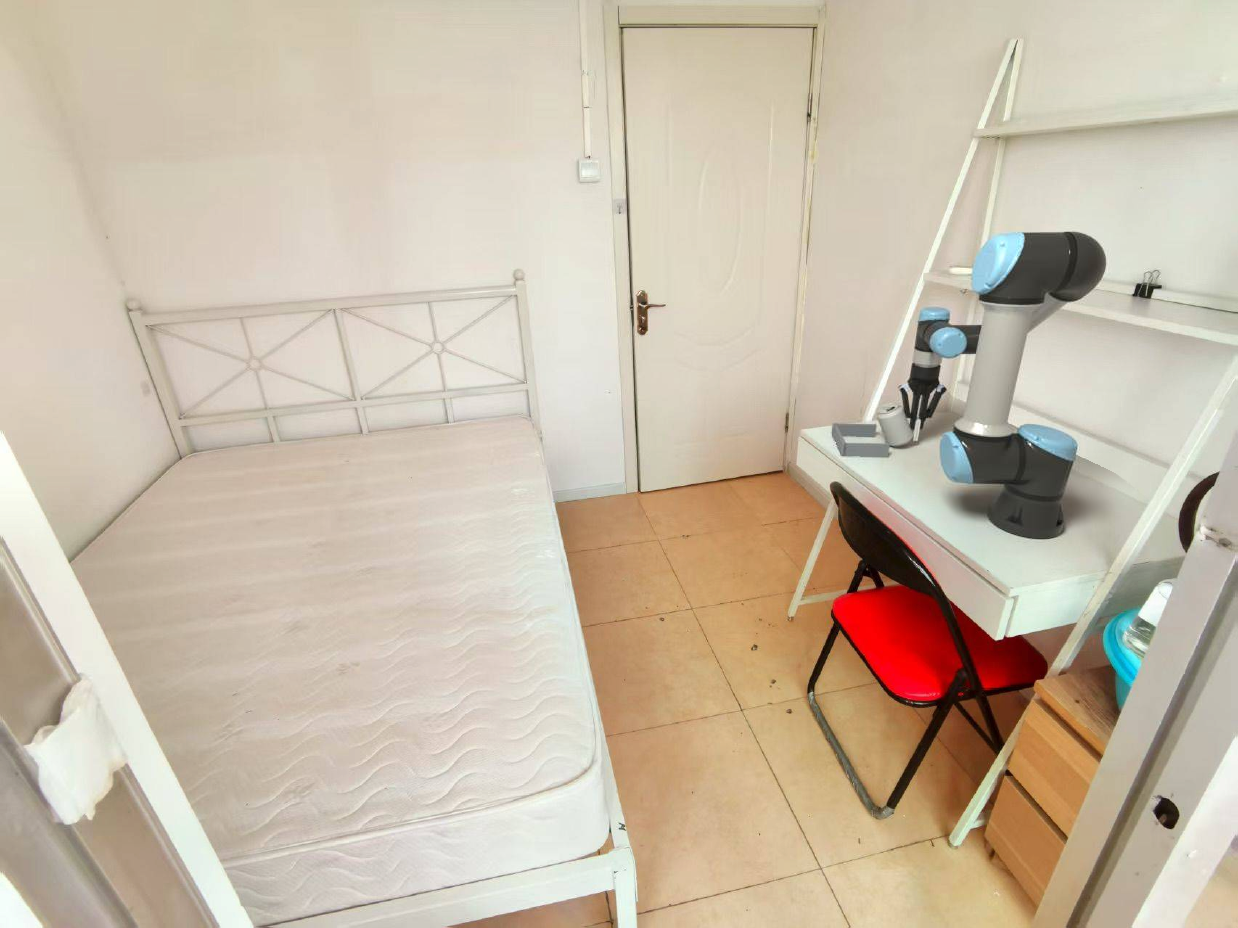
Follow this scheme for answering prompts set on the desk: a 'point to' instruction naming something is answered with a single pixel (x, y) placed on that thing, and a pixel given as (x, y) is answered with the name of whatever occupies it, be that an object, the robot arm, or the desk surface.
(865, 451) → the box
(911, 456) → the desk surface
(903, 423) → the can
